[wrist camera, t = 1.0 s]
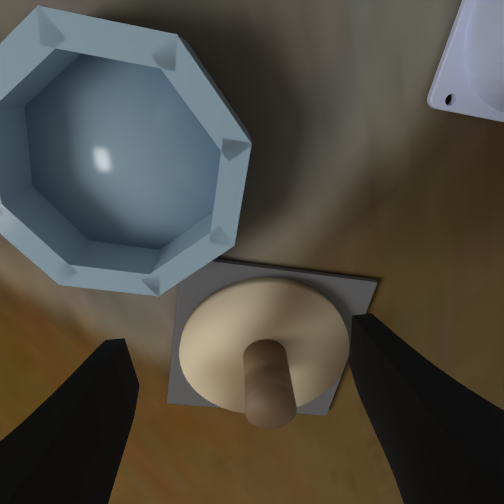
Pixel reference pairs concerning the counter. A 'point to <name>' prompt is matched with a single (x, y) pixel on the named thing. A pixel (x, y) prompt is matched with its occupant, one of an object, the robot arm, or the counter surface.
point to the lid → (264, 348)
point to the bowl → (115, 154)
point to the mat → (226, 272)
